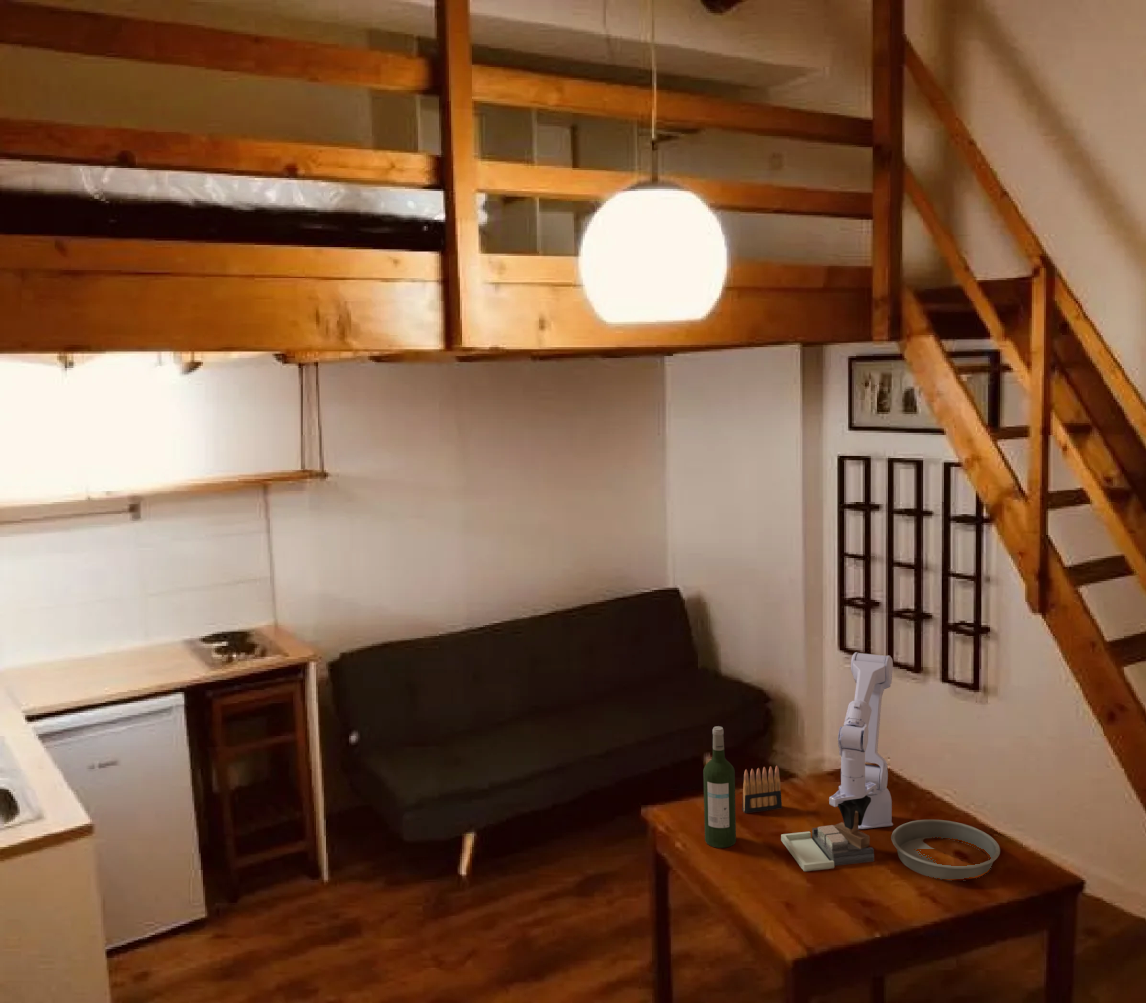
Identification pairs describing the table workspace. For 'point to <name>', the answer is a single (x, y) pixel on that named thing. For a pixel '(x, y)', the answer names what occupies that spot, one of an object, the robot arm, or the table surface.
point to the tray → (806, 851)
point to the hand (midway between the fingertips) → (853, 825)
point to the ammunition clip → (761, 791)
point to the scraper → (854, 834)
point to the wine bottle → (719, 796)
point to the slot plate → (844, 852)
